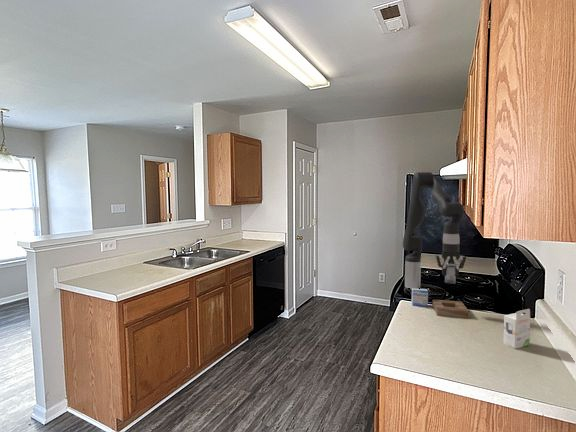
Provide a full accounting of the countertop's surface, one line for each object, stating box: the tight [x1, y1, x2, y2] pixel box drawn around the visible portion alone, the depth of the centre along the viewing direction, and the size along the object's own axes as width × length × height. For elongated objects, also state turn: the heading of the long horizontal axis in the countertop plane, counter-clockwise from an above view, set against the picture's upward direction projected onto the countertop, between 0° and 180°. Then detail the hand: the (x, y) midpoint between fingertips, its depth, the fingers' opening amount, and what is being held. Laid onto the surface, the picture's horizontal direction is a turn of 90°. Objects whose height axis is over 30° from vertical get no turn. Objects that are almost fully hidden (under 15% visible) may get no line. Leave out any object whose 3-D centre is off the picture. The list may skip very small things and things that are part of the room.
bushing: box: [444, 262, 457, 285], centre depth 161 cm, size 6×6×10 cm
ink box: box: [503, 308, 531, 350], centre depth 126 cm, size 9×5×15 cm, turn 111°
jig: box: [431, 299, 470, 319], centre depth 162 cm, size 14×14×4 cm
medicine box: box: [411, 288, 429, 308], centre depth 173 cm, size 8×4×9 cm, turn 73°
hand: (450, 275), depth 161 cm, fingers closed on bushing, 4 cm apart
